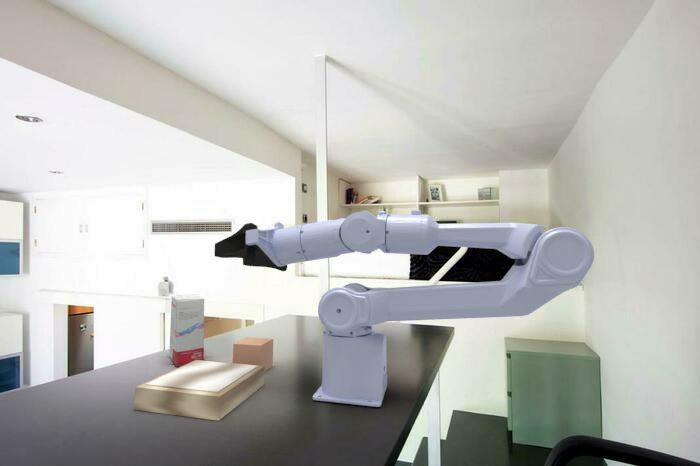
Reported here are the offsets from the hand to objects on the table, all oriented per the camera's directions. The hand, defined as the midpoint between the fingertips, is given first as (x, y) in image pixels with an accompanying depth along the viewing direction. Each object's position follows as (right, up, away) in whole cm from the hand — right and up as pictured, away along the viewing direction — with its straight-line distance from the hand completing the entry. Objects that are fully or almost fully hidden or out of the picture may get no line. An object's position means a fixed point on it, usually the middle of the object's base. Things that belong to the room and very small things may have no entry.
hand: (230, 255), depth 57 cm
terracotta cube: (+3, -20, +3) cm, 21 cm away
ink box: (-11, -20, +8) cm, 25 cm away
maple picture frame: (-1, -19, -8) cm, 21 cm away
